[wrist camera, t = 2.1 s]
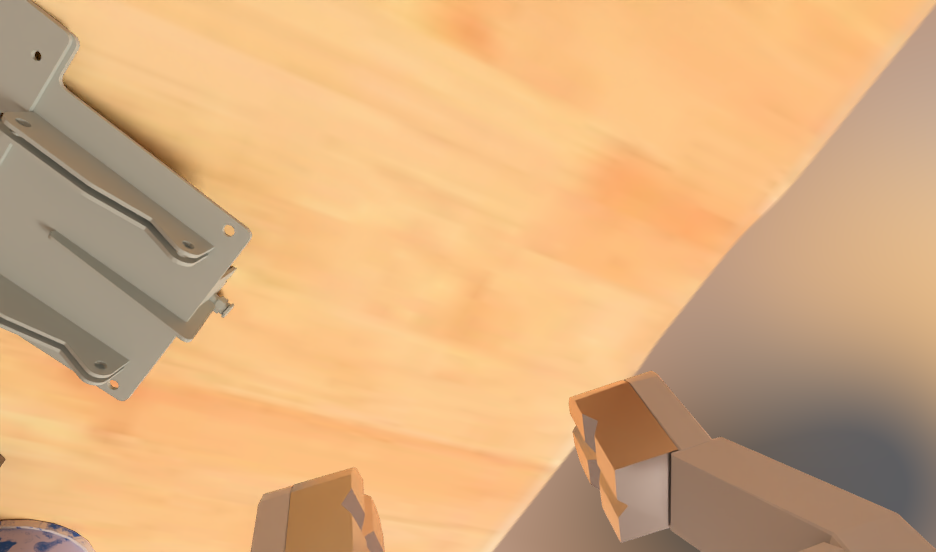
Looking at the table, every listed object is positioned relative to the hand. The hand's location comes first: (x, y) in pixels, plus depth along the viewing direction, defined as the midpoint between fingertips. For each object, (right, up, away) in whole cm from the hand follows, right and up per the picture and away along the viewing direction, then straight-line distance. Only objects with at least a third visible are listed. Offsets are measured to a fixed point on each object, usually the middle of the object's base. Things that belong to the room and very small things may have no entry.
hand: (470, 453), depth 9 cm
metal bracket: (-18, +6, +16) cm, 24 cm away
